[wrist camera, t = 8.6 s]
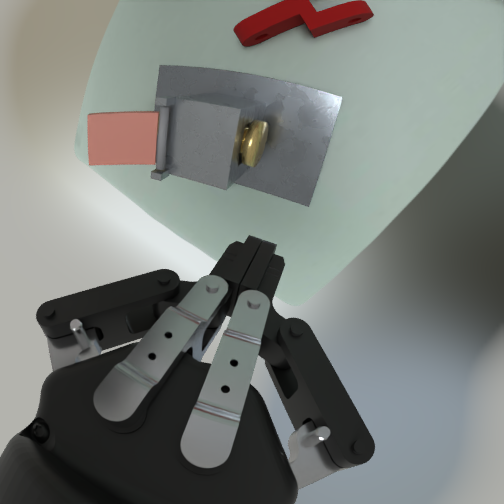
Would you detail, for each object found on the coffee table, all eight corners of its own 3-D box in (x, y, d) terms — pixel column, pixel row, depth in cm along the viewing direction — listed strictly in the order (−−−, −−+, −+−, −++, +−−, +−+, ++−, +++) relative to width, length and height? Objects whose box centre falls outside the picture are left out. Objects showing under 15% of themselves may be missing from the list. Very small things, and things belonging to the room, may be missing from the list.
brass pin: (171, 100, 32) (146, 105, 28) (271, 119, 31) (258, 125, 26) (167, 137, 36) (143, 147, 32) (262, 160, 34) (248, 173, 30)
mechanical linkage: (342, -23, 18) (342, -37, 14) (371, 20, 21) (375, 9, 17) (233, 22, 26) (218, 14, 22) (258, 62, 29) (246, 59, 25)
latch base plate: (161, 65, 32) (104, 68, 22) (342, 97, 28) (343, 100, 19) (152, 160, 41) (103, 187, 32) (308, 205, 38) (294, 251, 29)
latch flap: (90, 108, 23) (87, 110, 22) (170, 106, 25) (169, 107, 24) (91, 167, 27) (89, 170, 26) (165, 166, 29) (164, 169, 29)
